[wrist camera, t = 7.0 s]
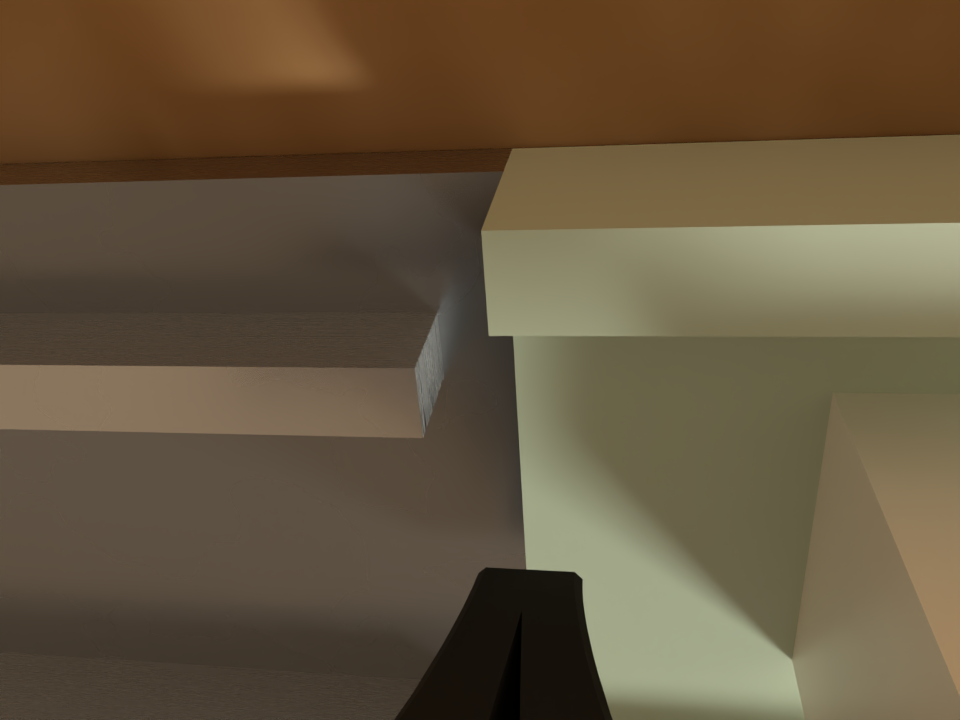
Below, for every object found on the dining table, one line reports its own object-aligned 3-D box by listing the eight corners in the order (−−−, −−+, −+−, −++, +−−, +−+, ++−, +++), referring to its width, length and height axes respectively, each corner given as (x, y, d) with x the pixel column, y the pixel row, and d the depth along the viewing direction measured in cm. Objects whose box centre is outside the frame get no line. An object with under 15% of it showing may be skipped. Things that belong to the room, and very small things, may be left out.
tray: (1217, 797, 15) (1340, 986, 13) (542, 745, 17) (530, 901, 14) (1599, 114, 9) (1973, 206, 7) (512, 148, 11) (480, 230, 9)
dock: (542, 745, 17) (532, 871, 15) (-120, 695, 19) (-212, 798, 17) (512, 148, 11) (486, 213, 9) (-430, 178, 14) (-629, 235, 11)
